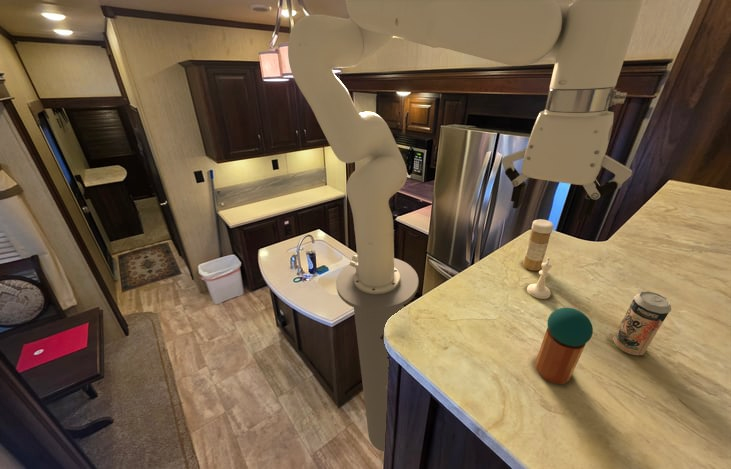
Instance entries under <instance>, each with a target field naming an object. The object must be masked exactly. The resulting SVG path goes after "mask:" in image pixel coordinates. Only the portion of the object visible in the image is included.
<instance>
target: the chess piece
mask: <svg viewBox="0 0 731 469" xmlns="http://www.w3.org/2000/svg"><path fill="white" fill-rule="evenodd" d="M545 260H546V261H545V262H544V261H543V262H542V264H541V266H542V267H541V269H540V270H538V274H539V275H540V276H539V278H538V281H537V282H536V283H530V284H529V285H527V288H526V291H527V293H528V294H529V295H530V296H532V297H534V298H535V299H536V298H537V299H539V300H540V299H541V300H546V299H549V298H550V297H551V290H550V289H549V287H547V286H546V277H549V276H550V272H549V271H550V269H551V268H552V264H551V263H550V260H551V257H549V256H547V257H546V259H545Z"/></svg>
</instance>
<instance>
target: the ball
mask: <svg viewBox="0 0 731 469" xmlns="http://www.w3.org/2000/svg"><path fill="white" fill-rule="evenodd" d="M547 328H548V329H549V332H550V334H551V335H552V336H553V337H554V338H555V339H556V340H557V341H558V342H560V343H562V344H564V345H567V346H581V345H584V344H585V343H586V344H587V343H589V341H590V340H591V339H592V336H593V335H594V334H593V333H594V329H593V324H592V321H591V320H590V318H589V317H588V316H587V315H586V314H585V313H583V312H582V311H581V310H579V309H576V308H573V307H559V308H556V309H555V310H553V311H552V312H551V313H550V314H549V316H548V318H547ZM586 344H585V345H586Z"/></svg>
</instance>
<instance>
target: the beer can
mask: <svg viewBox="0 0 731 469" xmlns="http://www.w3.org/2000/svg"><path fill="white" fill-rule="evenodd" d="M671 311H672V305H671V302H670V300H669V299H668V298H667V297H665V296H663V295H661V294H659V293H657V292H652V291H650V290H649V291H647V290H646V291H641V292H639V293H637V294H636V295H634V296H633V299H632V301H631V303H630V306H629V307H628V309H627V311H626V312H625V315H624V317H623V319H622V320H621V323H620V324H619V326H618V329H617V330H616V332H615V334H614V336H612V341H613V343H614V345H615V346H616V348H618V349H619V350H621V351H622V352H625V353H627V354H630V355H633V356H642V355H644V354H645V353H646V350H647V349H648V347H649V346H650V344H651V343H652V341H653V339H654V337H655V336H656V335H657V333H658V331H659V330H660V328H661V326H662V325H663V323H664V321H665V320H666V318H667V316H668V315H669V313H671Z"/></svg>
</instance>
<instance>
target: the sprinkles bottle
mask: <svg viewBox="0 0 731 469" xmlns="http://www.w3.org/2000/svg"><path fill="white" fill-rule="evenodd" d="M553 230H554V223H553V222H552V221H550V220H547V219H542V218H541V219H540V218H539V219H535V220H533V221H532V224H531V231H530V236H529V240H528V243H527V246H526V249H525V253H524V254H525V255H524V259H523V262H522V266H523V267H524V269H527V270H529V271H534V272H535V271H541V270H542V266H541V264H542V263H544V259H545V256H546V252H547V248H548V245H549V242H550V241H549V240H550V237H551V234H552V232H553Z"/></svg>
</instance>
